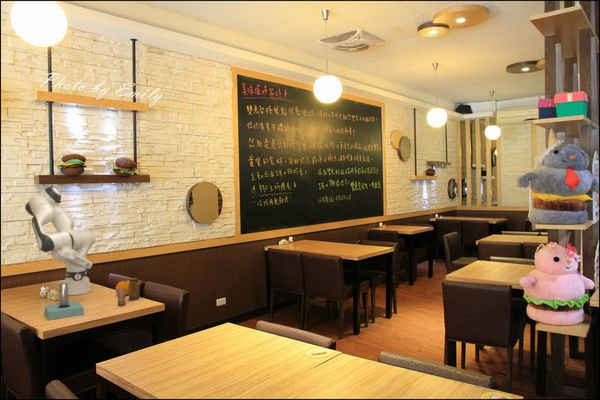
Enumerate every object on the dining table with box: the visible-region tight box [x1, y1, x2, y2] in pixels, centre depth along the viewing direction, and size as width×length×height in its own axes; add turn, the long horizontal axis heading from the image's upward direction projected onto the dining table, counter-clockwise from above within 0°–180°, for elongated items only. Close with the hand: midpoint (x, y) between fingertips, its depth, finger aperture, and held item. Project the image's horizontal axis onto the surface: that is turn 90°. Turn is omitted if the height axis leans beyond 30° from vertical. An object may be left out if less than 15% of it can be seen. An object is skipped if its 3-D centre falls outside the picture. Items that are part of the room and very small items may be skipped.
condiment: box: [125, 277, 143, 302], centre depth 263 cm, size 7×8×12 cm
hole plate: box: [44, 300, 85, 321], centre depth 232 cm, size 16×16×4 cm
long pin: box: [58, 282, 69, 308], centre depth 231 cm, size 4×4×16 cm
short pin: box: [117, 289, 126, 307], centre depth 249 cm, size 4×4×9 cm
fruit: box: [115, 278, 129, 297], centre depth 275 cm, size 12×12×10 cm
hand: (82, 261), depth 248 cm, fingers open, 8 cm apart
